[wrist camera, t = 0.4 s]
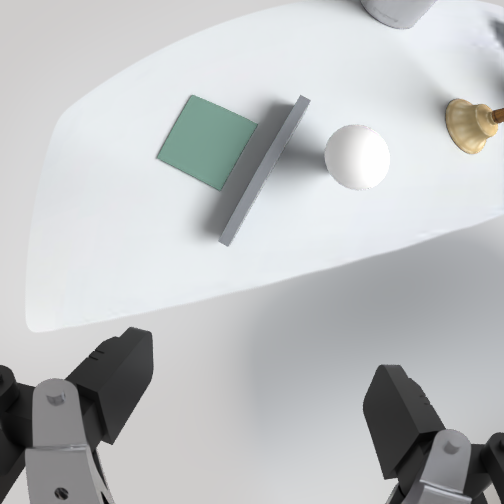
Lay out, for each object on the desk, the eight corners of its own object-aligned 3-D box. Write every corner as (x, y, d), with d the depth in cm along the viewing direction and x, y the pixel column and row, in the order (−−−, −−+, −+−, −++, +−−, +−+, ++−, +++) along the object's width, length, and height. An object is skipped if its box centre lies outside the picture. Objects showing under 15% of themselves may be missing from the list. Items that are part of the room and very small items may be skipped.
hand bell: (435, 112, 29) (510, 81, 13) (464, 91, 28) (533, 61, 12) (465, 164, 30) (546, 159, 14) (492, 138, 29) (565, 128, 13)
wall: (297, 105, 31) (300, 95, 27) (306, 110, 31) (310, 100, 27) (224, 235, 34) (218, 241, 30) (232, 240, 34) (228, 246, 30)
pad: (193, 95, 31) (192, 94, 31) (257, 124, 31) (257, 124, 31) (158, 158, 33) (157, 158, 32) (220, 190, 33) (220, 190, 33)
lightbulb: (302, 171, 32) (318, 160, 21) (329, 130, 31) (354, 103, 20) (345, 200, 32) (378, 204, 22) (370, 160, 31) (411, 147, 20)
